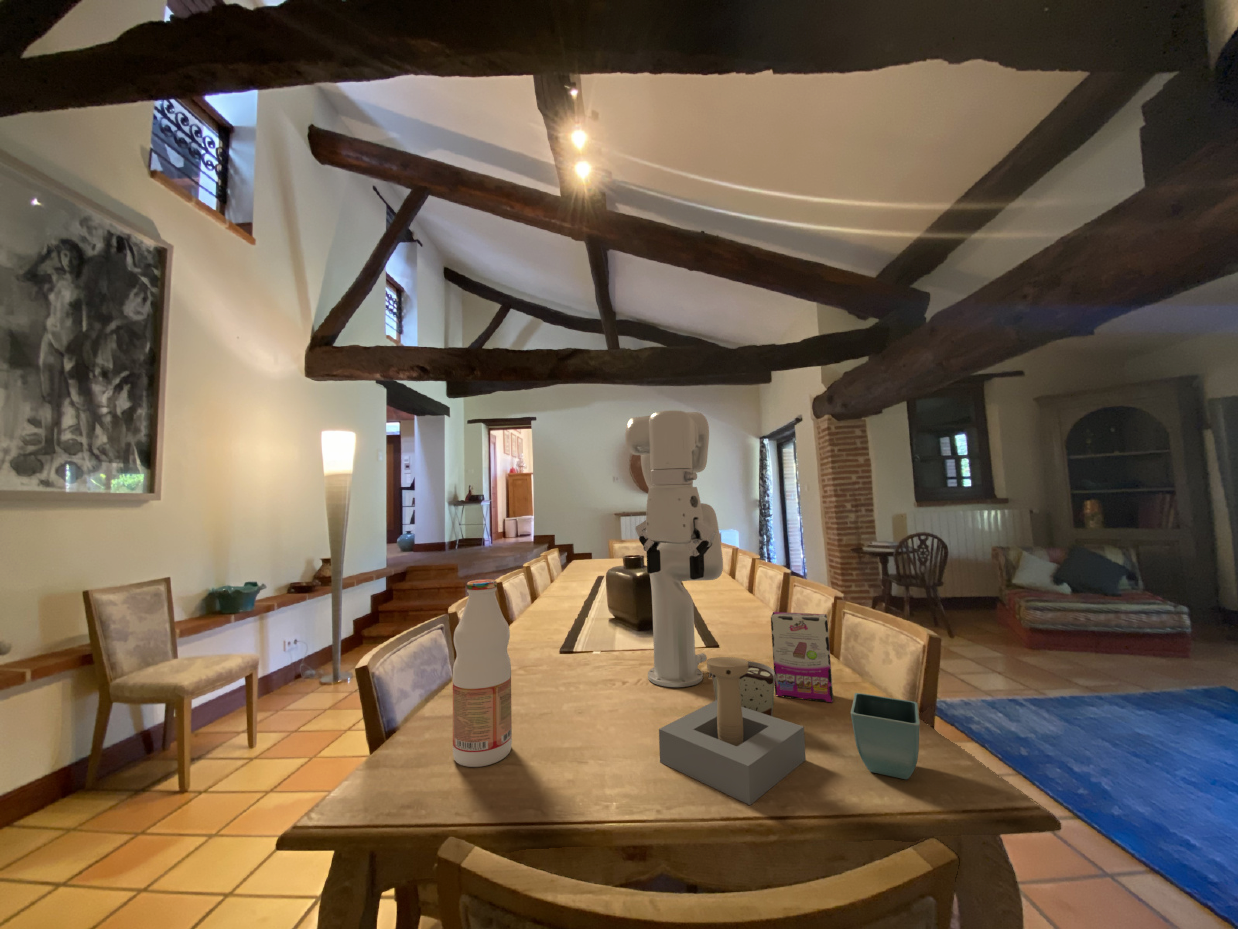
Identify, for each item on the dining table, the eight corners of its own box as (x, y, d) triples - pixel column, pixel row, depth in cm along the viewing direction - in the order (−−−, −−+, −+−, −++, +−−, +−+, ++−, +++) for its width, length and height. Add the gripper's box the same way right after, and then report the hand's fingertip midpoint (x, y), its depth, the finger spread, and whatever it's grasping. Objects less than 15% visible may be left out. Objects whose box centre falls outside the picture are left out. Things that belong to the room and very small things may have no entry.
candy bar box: (832, 694, 102) (828, 613, 103) (833, 703, 97) (828, 618, 99) (776, 688, 106) (772, 610, 107) (774, 696, 102) (770, 615, 103)
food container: (784, 719, 91) (781, 663, 92) (780, 733, 85) (777, 674, 86) (718, 709, 96) (716, 656, 97) (710, 722, 91) (708, 666, 91)
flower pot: (925, 792, 68) (920, 724, 68) (854, 776, 72) (850, 712, 73) (922, 762, 75) (917, 701, 76) (858, 749, 80) (854, 692, 80)
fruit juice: (461, 775, 75) (461, 588, 77) (446, 750, 83) (446, 581, 85) (520, 756, 80) (518, 581, 82) (500, 735, 88) (499, 575, 90)
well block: (719, 728, 88) (718, 699, 89) (805, 760, 77) (803, 726, 77) (659, 762, 77) (658, 729, 78) (749, 805, 66) (748, 766, 66)
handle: (754, 770, 74) (749, 667, 75) (711, 767, 75) (707, 666, 76) (751, 753, 79) (746, 657, 80) (710, 751, 80) (706, 656, 81)
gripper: (724, 478, 86) (728, 577, 85) (648, 480, 98) (651, 567, 97) (699, 478, 80) (703, 584, 80) (622, 481, 92) (625, 573, 92)
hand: (674, 575), depth 88 cm, fingers open, 9 cm apart
